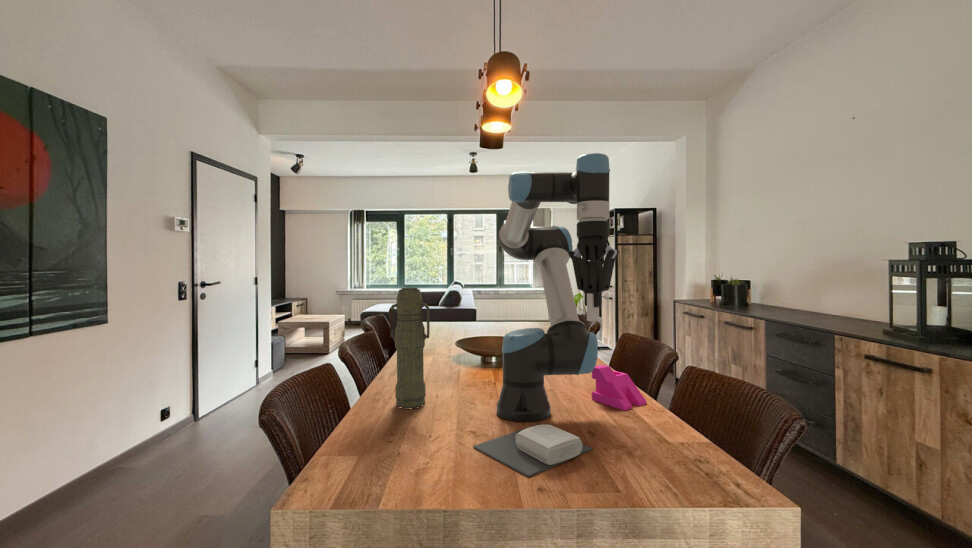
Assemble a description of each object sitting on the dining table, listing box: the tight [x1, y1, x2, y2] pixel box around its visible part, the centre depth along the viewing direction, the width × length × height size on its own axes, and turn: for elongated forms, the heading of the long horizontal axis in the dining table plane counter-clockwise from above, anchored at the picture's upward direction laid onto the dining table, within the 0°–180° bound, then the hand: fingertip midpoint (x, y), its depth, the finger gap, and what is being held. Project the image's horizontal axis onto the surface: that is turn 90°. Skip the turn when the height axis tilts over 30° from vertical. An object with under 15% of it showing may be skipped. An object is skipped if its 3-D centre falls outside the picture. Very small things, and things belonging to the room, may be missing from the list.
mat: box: [472, 424, 593, 478], centre depth 98 cm, size 18×20×1 cm
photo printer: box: [515, 424, 583, 465], centre depth 95 cm, size 10×4×12 cm
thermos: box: [388, 287, 431, 409], centre depth 129 cm, size 9×12×35 cm
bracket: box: [591, 364, 647, 411], centre depth 131 cm, size 12×10×10 cm
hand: (593, 320), depth 103 cm, fingers closed
